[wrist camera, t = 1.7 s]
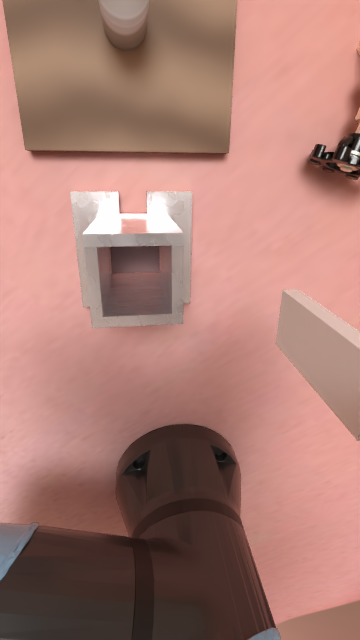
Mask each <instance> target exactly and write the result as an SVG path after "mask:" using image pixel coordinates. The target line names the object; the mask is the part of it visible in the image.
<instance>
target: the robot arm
mask: <svg viewBox="0 0 360 640" xmlns="http://www.w3.org/2000/svg"><path fill="white" fill-rule="evenodd" d="M276 345H277V346H278V347H279V349H280V350H281V351H282V352H283V353H284V355H285V356H286V357H287V358H288V359H289V360H290V362H291V363H292V364H293V365H294V366H295V367H296V369H297V370H298V371H299V372H300V373H301V375H302V376H303V377H304V378H305V379H306V380H307V382H308V383H309V384H310V385H311V386H312V388H313V389H314V390H315V391H316V392H317V393H318V395H319V396H320V397H321V398H322V399H323V401H324V402H325V403H326V404H327V405H328V406H329V408H330V409H331V410H332V411H333V412H334V413H335V415H336V416H337V417H338V418H339V419H340V421H341V422H342V423H343V424H344V425H345V426H346V428H347V429H348V430H349V431H350V432H351V434H352V435H353V436H354V437H355V438H356V439H357V441H359V440H360V331H358V330H357V329H355V328H354V327H352V326H351V325H350V324H348V323H347V322H345V321H344V320H342V319H341V318H339V317H338V316H336V315H335V314H334V313H332V312H331V311H329V310H328V309H326V308H325V307H323V306H322V305H320V304H319V303H318V302H316V301H315V300H313V299H312V298H310V297H309V296H307V295H306V294H304V293H303V292H302V291H300V290H283V291H282V299H281V307H280V314H279V322H278V330H277V338H276ZM115 489H116V498H117V502H118V505H119V508H120V511H121V514H122V517H123V520H124V523H125V526H126V529H127V531H128V534H129V537H126V536H118V535H110V534H102V533H94V532H86V531H78V530H71V529H63V528H55V527H47V526H39V523H32V524H30V525H25V524H11V523H0V640H281V637H280V633H279V631H278V629H277V628H276V626H275V623H274V620H273V617H272V614H271V611H270V608H269V605H268V602H267V599H266V596H265V593H264V590H263V587H262V583H261V580H260V577H259V574H258V571H257V568H256V565H255V562H254V559H253V556H252V553H251V550H250V547H249V543H248V540H247V537H246V534H245V531H244V528H243V525H242V522H241V518H240V508H241V472H240V467H239V464H238V461H237V459H236V456H235V453H234V451H233V449H232V447H231V445H230V444H229V443H228V442H227V440H226V439H224V438H223V437H222V436H221V435H219V434H218V433H216V432H214V431H212V430H210V429H207V428H204V427H201V426H195V425H172V426H167V427H163V428H160V429H157V430H154V431H152V432H149V433H147V434H146V435H144V436H142V437H141V438H139V439H138V440H136V441H135V442H134V443H133V444H132V445H131V446H130V447H129V448H128V449H127V450H126V451H125V453H124V454H123V456H122V457H121V459H120V461H119V464H118V467H117V472H116V488H115Z"/></svg>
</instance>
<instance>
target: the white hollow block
mask: <svg viewBox="0 0 360 640" xmlns="http://www.w3.org/2000/svg"><path fill="white" fill-rule="evenodd" d="M70 194H71V203H72V212H73V221H74V230H75V239H76V248H77V257H78V266H79V275H80V284H81V293H82V302H83V307H90V313H91V323H92V328H103V327H125V326H147V325H169V324H183V303H190V286H191V229H192V192H191V191H146V195H147V213H120V208H119V191H71V192H70ZM119 246H159V252H160V272H138V273H112V265H111V251H110V247H119Z"/></svg>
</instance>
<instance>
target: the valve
mask: <svg viewBox="0 0 360 640" xmlns="http://www.w3.org/2000/svg"><path fill="white" fill-rule="evenodd" d="M357 52H358V54H359V56H360V43H359V45H358V48H357ZM355 121H356V122H357V123H358V124H359V125H358V128H357V130H356V132H355V133H349V134H348V135H347V136H346V137H344V138H343V139H342V140H341V141H340V142H339V144H338V146H337V148H336V150H335V152H324V151H325V148H326V146H325V145H321V144H316V145H315V147H314V150H312V152H311V155H310V157H309V160H308V162H309V163H311V164H313V165H323V168H322V169H323V170H324V171H326V172H330V173H334V172H335V171H336V172H340V173H343V174H346V175H345V176H346V177H347V178H349V179H353V180H358V178H359V177H360V108H359V110H358V113H357V115H356V117H355Z"/></svg>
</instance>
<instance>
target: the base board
mask: <svg viewBox="0 0 360 640" xmlns="http://www.w3.org/2000/svg"><path fill="white" fill-rule="evenodd" d="M3 6H4V13H5V20H6V26H7V33H8V39H9V46H10V53H11V59H12V66H13V72H14V79H15V86H16V92H17V99H18V105H19V112H20V119H21V125H22V132H23V138H24V145H25V150H28V151H58V152H128V153H198V154H226V153H229V142H230V123H231V105H232V86H233V68H234V49H235V31H236V13H237V0H3Z"/></svg>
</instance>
